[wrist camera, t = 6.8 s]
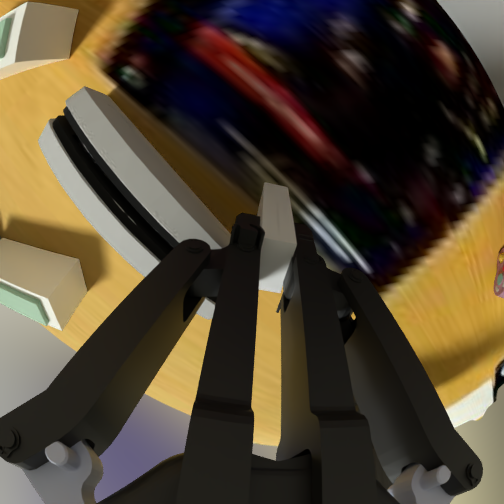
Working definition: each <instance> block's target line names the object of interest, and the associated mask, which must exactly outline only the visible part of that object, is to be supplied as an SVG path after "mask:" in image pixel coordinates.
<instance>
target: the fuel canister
mask: <svg viewBox="0 0 504 504" xmlns="http://www.w3.org/2000/svg"><path fill="white" fill-rule="evenodd" d="M437 1H438V3H439V4H440V5H441V6H442V7H443V9H444V10H445V11H446V12H447V14H448V15H449V16H450V17H451V19H452V20H453V21H454V23H455V24H456V25H457V27H458V28H459V29H460V31H461V32H462V34H463V35H464V37H465V38H466V40H467V41H468V43H469V44H470V46H471V47H472V49H473V50H474V52H475V53H476V55H477V57H478V58H479V60H480V62H481V64H482V65H483V67H484V69H485V71H486V72H487V74H488V76H489V78H490V80H491V82H492V84H493V86H494V88H495V90H496V92H497V94H498V96H499V98H500V100H501V103H502V105H503V107H504V0H437Z"/></svg>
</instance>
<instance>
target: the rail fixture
mask: <svg viewBox="0 0 504 504" xmlns="http://www.w3.org/2000/svg"><path fill="white" fill-rule="evenodd" d="M78 11H79V10H77V9H73V8H68V7H63V6H57V5H51V4H44V3H36V2H26V3H24V4H22V5H21V6H19V7H17V8H15V9H14V10H12V11H10V12H9V13H7V14H5V15H4V16H2V17H1V18H0V80H1V79H4V78H6V77H9V76H12V75H14V74H17V73H20V72H23V71H26V70H29V69H32V68H36V67H39V66H43V65H46V64H50V63H54V62H58V61H62V60H66V59H69V56H70V50H71V44H72V38H73V33H74V28H75V24H76V19H77V15H78ZM86 293H87V288H86V285H85V281H84V277H83V273H82V269H81V265H80V261H79V259H77V258H73V257H69V256H65V255H61V254H58V253H54V252H50V251H47V250H43V249H40V248H36V247H33V246H29V245H26V244H22V243H19V242H16V241H12V240H9V239H6V238H2V239H1V237H0V303H1V304H3V305H5V306H7V307H8V308H10V309H12V310H14V311H16V312H18V313H20V314H22V315H24V316H26V317H28V318H30V319H33V320H35V321H37V322H39V323H41V324H43V325H45V326H47V325H49V326H52V327H54V328H56V329H59V330H61V331H63V329H64V327H65V326H66V324H67V323H68V321H69V319H70V318H71V316H72V315H73V313H74V311H75V310H76V308H77V307H78V305H79V304H80V302H81V301H82V299H83V298H84V296H85V295H86Z"/></svg>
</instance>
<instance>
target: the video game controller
mask: <svg viewBox="0 0 504 504" xmlns="http://www.w3.org/2000/svg"><path fill="white" fill-rule="evenodd" d="M494 293H495V295H497V296H499V297H502V298H504V248H502V249H501V251H500V253H499V255H498V260H497V273H496V277H495V281H494Z"/></svg>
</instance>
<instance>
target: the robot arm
mask: <svg viewBox="0 0 504 504" xmlns="http://www.w3.org/2000/svg"><path fill="white" fill-rule="evenodd" d="M282 287H283V291H284V292H283V294H282V297H281V300H280V303H279V305H278V308H277V311H276V312H277V313H279V310H280V309H281V439H280V443H279V446H278V449H277V454H276V461H274V460H271V459H267V458H264V457H260V456H257V455H254V454H252V447H253V432H254V412H253V410H252V408H251V400H252V385H253V371H254V355H255V340H256V324H257V308H258V291H259V290H265V291H271V292H277V293H280V292H281V290H282ZM214 296H217V300H216V304H215V309H214V313H213V318H212V323H211V327H210V332H209V337H208V341H207V346H206V351H205V356H204V360H203V365H202V370H201V375H200V380H199V385H198V390H197V395H196V399H195V402H194V405H193V409H192V414H191V419H190V424H189V430H188V435H187V441H186V446H185V452H184V453H181V454H177V455H174V456H172V457H169V458H168V459H166V460H164V461H162V462H160V463H159V464H157V465H156V466H155V467H153V468H152V469H150V470H149V471H148V472H146V473H145V474H143V475H142V476H140V477H139V478H137V479H136V480H134V481H133V482H131V483H130V484H128V485H127V486H125V487H124V488H122V489H120V490H119V491H117V492H115V493H114V494H112V495H110V496H109V497H107V498H105V499H104V500H102V501H100V502H98V503H97V504H450V502H451V501H452V499H453V498H454V497H455V496H456V495H459V494H461V493H464V492H467V491H469V490H471V489H473V488H475V487H476V486H477V485H478V484H479V482H480V481H481V478H482V474H483V467H482V463H481V461H480V459H479V458H478V457H477V455H476V454H475V453H474V452H473V450H472V449H471V448H470V447H469V446H468V445H467V443H466V442H465V441H464V440H463V439H462V437H461V436H460V435H459V434H458V433H457V432H456V430H455V429H454V427H453V425H452V423H451V421H450V419H449V416H448V414H447V412H446V410H445V408H444V406H443V404H442V402H441V400H440V398H439V396H438V394H437V392H436V390H435V388H434V386H433V384H432V383H431V381H430V379H429V377H428V375H427V373H426V371H425V370H424V368H423V366H422V364H421V362H420V361H419V359H418V357H417V355H416V354H415V352H414V350H413V348H412V347H411V345H410V343H409V342H408V340H407V338H406V337H405V335H404V333H403V332H402V330H401V328H400V327H399V325H398V323H397V322H396V320H395V319H394V317H393V315H392V314H391V312H390V311H389V309H388V308H387V306H386V305H385V303H384V301H383V300H382V298H381V297H380V295H379V294H378V292H377V291H376V289H375V288H374V286H373V285H372V283H371V282H370V280H369V279H368V278H367V276H366V275H365V274H364V273H362V272H361V271H359V270H357V269H354V268H345V269H344V270H343V271H342V273H341V274H339V273H337V272H334V271H332V270H330V269H328V268H327V267H326V263H325V261H324V259H323V258H322V257H321V256H320V255H318V254H317V252H316V248H315V243H314V239H313V235H312V231H311V230H310V229H309V228H308V227H307V225H302V224H298V223H294V222H293V215H292V209H291V203H290V197H289V191H288V187H285V186H280V185H275V184H271V183H266V182H264V186H263V191H262V195H261V199H260V204H259V208H258V213H257V216H256V215H251V214H245V213H241V214H239V215H238V216H237V217H236V221H235V224H234V225H233V227H232V232H231V237H230V243H229V245H228V246H226V247H224V248H221V249H211V248H210V245H209V244H208V243H207V242H205V241H203V240H199V239H187V240H183V241H182V242H180V243H179V244H178V245H177V246H176V247H175V248H174V249H173V250H172V251H171V252H170V253H169V254H168V255H167V256H166V257H165V258H164V259H163V260H162V261H161V262H160V263H159V264H158V265H157V266H156V267H155V268H154V269H153V270H152V271H151V272H150V273H149V274H148V275H147V276H146V277H145V278H144V279H143V280H142V281H141V282H140V283H139V284H138V285H137V286H136V287H135V288H134V289H133V291H132V292H131V293H130V294H129V295H128V296H127V297H126V298H125V299H124V300H123V301H122V302H121V303H120V304H119V305H118V306H117V308H116V309H115V310H114V311H113V312H112V313H111V314H110V315H109V316H108V317H107V318H106V320H105V321H104V322H103V323H102V324H101V325H100V326H99V327H98V329H97V330H96V331H95V332H94V333H93V334H92V335H91V336H90V338H89V339H88V340H87V341H86V342H85V343H84V345H83V346H82V347H81V348H80V349H79V350H78V352H77V353H76V354H75V355H74V356H73V358H72V359H71V360H70V361H69V362H68V363H67V365H66V366H65V367H64V368H63V370H62V371H61V372H60V373H59V374H58V376H57V377H56V378H55V379H54V381H53V382H52V383H51V384H50V386H49V387H48V388H47V390H45V391H44V392H42V393H40V394H39V395H37V396H35V397H34V398H32V399H30V400H29V401H27V402H26V403H24V404H22V405H21V406H19V407H17V408H16V409H14V410H13V411H11V412H9V413H8V414H6V415H4V416H3V417H1V418H0V457H2V458H3V459H4V460H5V461H7V462H9V463H11V464H13V465H15V466H17V467H20V468H21V469H22V470H23V471H24V472H25V474H26V476H27V477H28V479H29V480H30V482H31V483H32V485H33V487H34V488H35V490H36V491H37V493H38V494H39V496H40V497H41V498H42V500H43V501H44V503H45V504H96V501H95V499H94V490H95V487H96V485H97V484H98V483H99V481H100V480H101V479H102V476H103V466H102V463H101V460H100V459H99V456H100V455H101V454H102V453H103V452H104V451H105V450H106V449H107V448H108V447H109V446H110V445H111V444H112V442H113V441H114V439H115V438H116V437H117V435H118V434H119V432H120V431H121V429H122V427H123V426H124V424H125V423H126V421H127V420H128V418H129V416H130V415H131V413H132V412H133V410H134V408H135V407H136V405H137V404H138V402H139V401H140V399H141V398H142V396H143V394H144V393H145V391H146V390H147V388H148V387H149V385H150V383H151V382H152V380H153V379H154V377H155V376H156V374H157V372H158V371H159V369H160V368H161V366H162V365H163V363H164V362H165V360H166V359H167V357H168V355H169V354H170V352H171V351H172V349H173V348H174V346H175V345H176V343H177V342H178V340H179V338H180V337H181V335H182V334H183V332H184V331H185V329H186V328H187V326H188V325H189V323H190V322H191V320H192V319H193V317H194V316H195V314H196V312H197V311H198V309H199V308H200V306H201V305H202V303H203V302H204V300H205V297H214ZM353 312H354V314H355V316H356V318H355V320H353V319H352V317H351V315H352V313H353Z"/></svg>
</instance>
